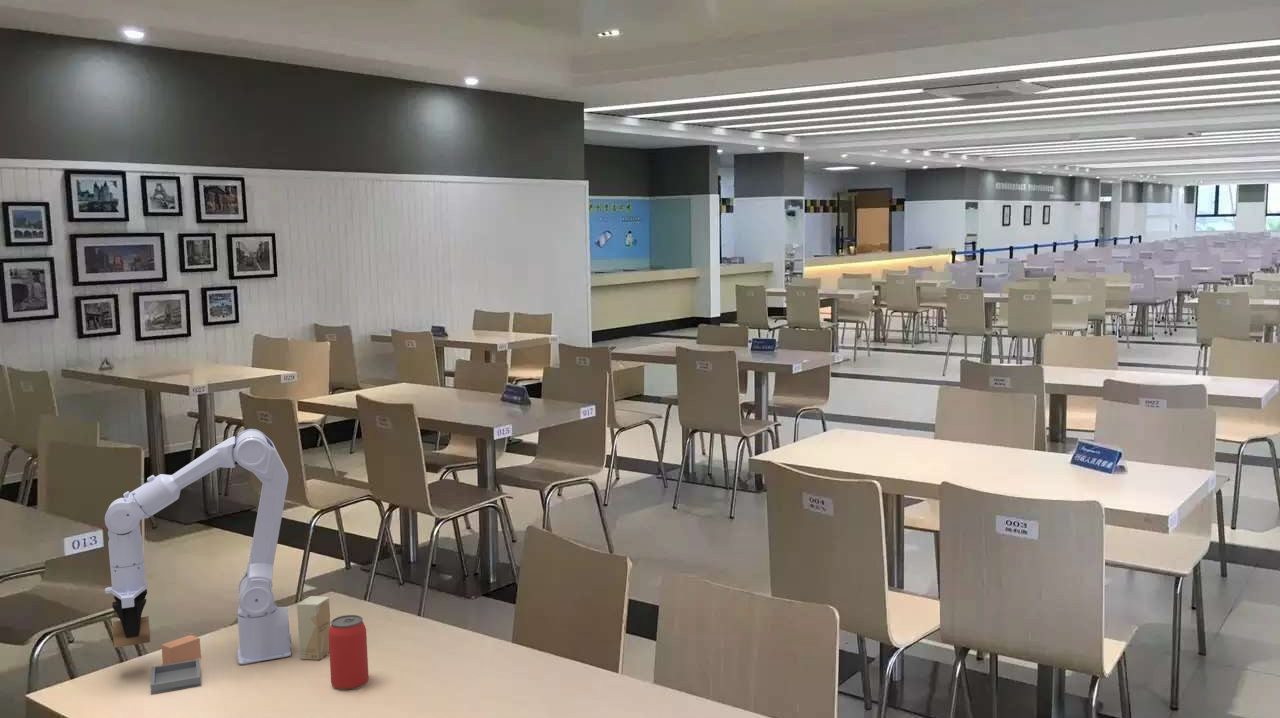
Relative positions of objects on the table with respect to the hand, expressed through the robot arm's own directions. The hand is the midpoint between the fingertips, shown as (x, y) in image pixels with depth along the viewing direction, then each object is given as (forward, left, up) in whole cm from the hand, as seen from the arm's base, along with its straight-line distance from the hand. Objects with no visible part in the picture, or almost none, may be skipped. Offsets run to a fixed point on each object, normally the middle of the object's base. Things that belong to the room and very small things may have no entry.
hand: (132, 633), depth 194 cm
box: (-32, +6, -8) cm, 33 cm away
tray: (-7, +7, -8) cm, 13 cm away
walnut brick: (0, 0, -2) cm, 2 cm away
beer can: (-36, +23, -8) cm, 43 cm away
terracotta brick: (-8, -3, -8) cm, 12 cm away
